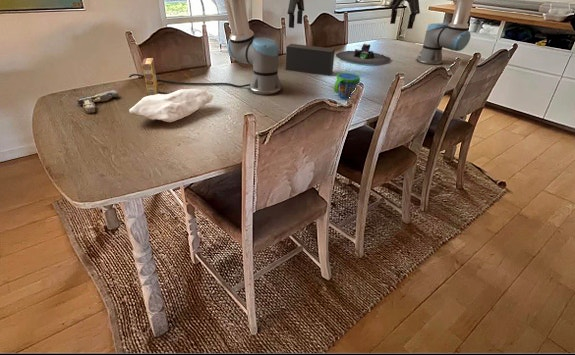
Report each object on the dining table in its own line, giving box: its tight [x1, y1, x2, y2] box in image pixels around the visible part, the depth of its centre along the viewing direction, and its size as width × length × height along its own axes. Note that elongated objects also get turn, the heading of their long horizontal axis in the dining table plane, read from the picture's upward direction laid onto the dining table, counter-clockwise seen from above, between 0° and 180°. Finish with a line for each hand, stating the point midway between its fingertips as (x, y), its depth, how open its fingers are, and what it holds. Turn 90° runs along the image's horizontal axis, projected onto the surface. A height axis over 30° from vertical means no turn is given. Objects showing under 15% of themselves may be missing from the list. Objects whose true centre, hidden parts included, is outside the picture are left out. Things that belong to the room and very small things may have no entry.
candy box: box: [141, 57, 160, 96], centre depth 163 cm, size 9×4×15 cm, turn 13°
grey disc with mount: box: [335, 43, 391, 65], centre depth 234 cm, size 35×35×9 cm
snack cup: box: [333, 72, 361, 100], centre depth 170 cm, size 16×10×10 cm
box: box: [285, 43, 336, 77], centre depth 205 cm, size 26×8×13 cm, turn 70°
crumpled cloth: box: [129, 88, 214, 123], centre depth 147 cm, size 24×35×9 cm
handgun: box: [76, 89, 120, 114], centre depth 155 cm, size 3×18×15 cm
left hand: (295, 25), depth 198 cm, fingers open, 13 cm apart
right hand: (400, 26), depth 188 cm, fingers open, 13 cm apart
